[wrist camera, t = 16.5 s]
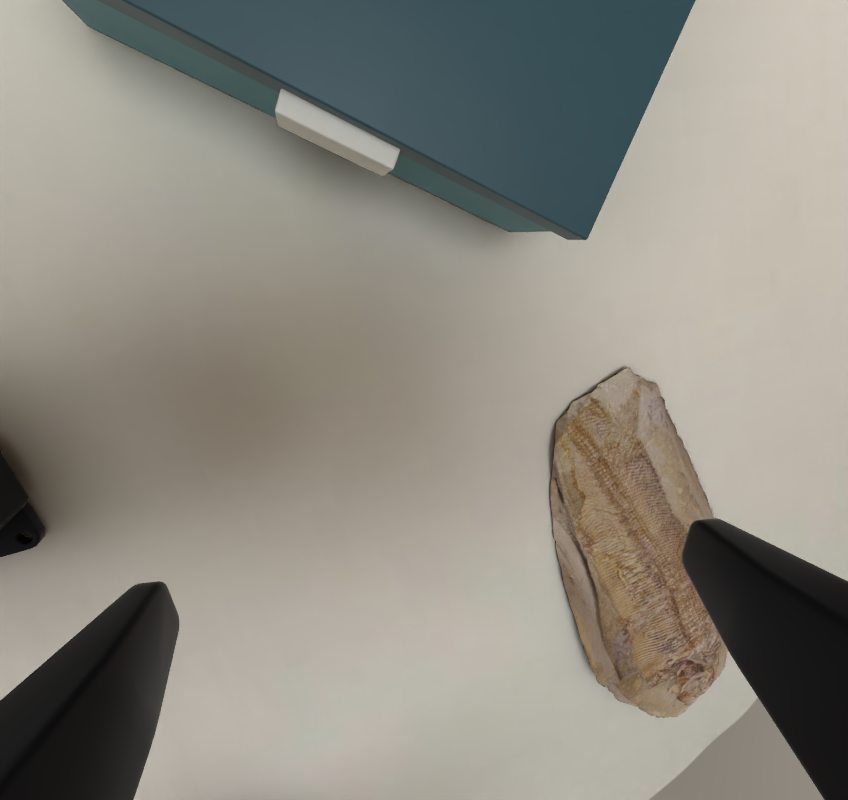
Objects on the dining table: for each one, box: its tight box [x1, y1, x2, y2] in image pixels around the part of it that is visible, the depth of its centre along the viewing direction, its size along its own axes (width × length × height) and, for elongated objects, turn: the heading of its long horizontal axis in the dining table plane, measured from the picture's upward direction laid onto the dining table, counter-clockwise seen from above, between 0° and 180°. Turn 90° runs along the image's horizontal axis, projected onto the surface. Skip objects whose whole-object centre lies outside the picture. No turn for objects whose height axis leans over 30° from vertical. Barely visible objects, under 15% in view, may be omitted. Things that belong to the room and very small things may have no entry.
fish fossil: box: [550, 368, 728, 718], centre depth 27 cm, size 26×10×1 cm, turn 30°
